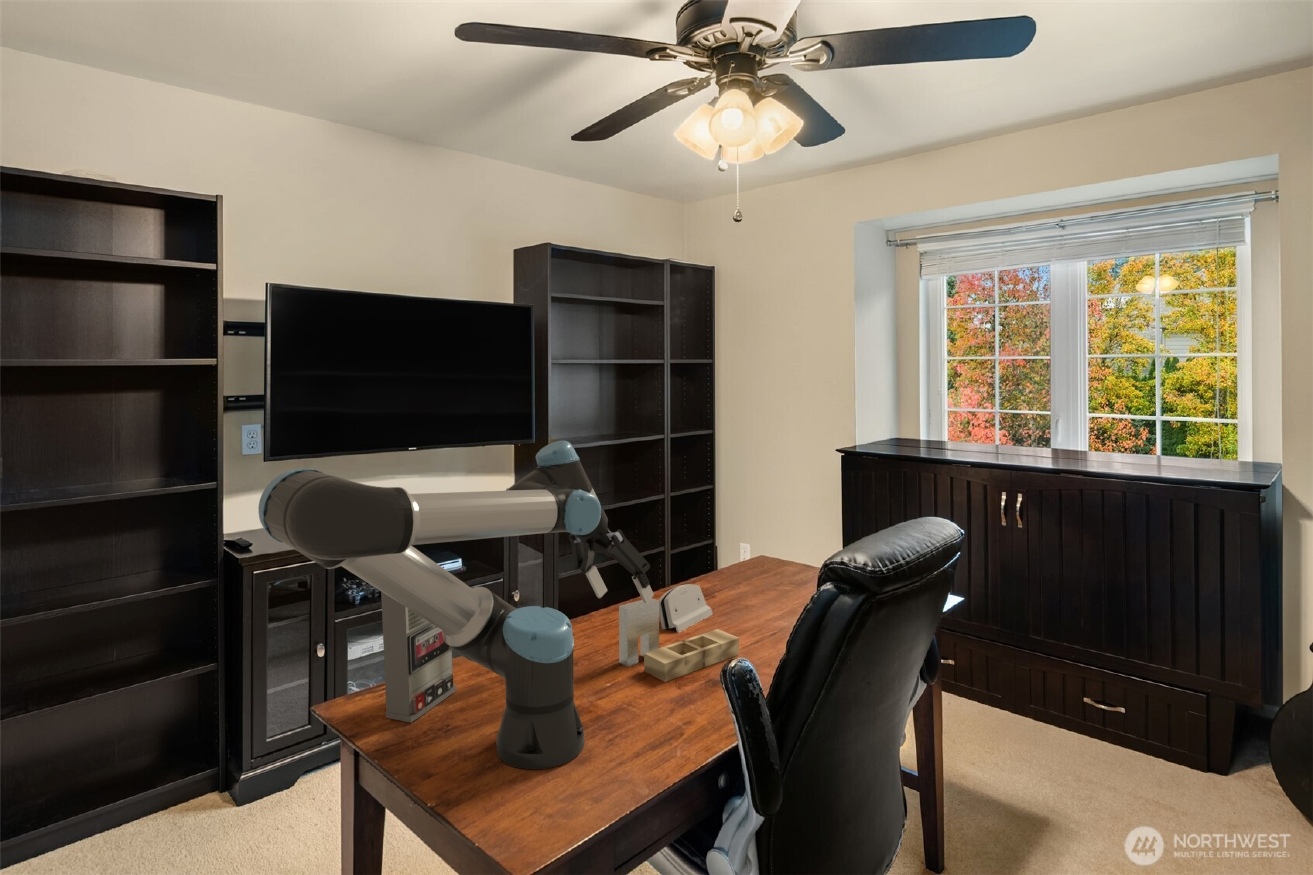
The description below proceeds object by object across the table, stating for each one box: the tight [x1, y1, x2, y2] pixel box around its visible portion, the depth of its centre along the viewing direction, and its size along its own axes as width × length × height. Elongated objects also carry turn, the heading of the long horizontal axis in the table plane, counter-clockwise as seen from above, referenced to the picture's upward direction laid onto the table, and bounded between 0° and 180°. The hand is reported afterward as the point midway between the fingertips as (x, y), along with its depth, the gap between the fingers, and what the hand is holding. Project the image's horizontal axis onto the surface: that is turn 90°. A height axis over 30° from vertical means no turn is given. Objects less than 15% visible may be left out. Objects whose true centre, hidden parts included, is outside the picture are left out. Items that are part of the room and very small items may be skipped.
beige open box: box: [643, 628, 740, 683], centre depth 162 cm, size 22×7×4 cm, turn 129°
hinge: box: [657, 583, 714, 634], centre depth 188 cm, size 17×5×10 cm, turn 144°
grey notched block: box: [618, 597, 660, 667], centre depth 163 cm, size 9×3×13 cm, turn 129°
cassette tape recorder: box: [380, 591, 457, 724], centre depth 141 cm, size 14×6×25 cm, turn 160°
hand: (625, 596), depth 154 cm, fingers open, 13 cm apart
